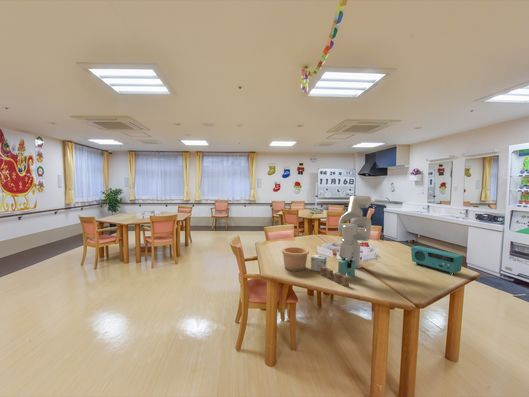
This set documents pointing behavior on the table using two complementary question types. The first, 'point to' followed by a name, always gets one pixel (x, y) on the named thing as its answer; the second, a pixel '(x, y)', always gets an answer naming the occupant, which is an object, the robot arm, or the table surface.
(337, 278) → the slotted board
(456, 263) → the radio
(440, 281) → the table surface
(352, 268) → the teal panel
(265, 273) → the table surface
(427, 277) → the table surface
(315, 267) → the light bulb box
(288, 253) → the pottery
